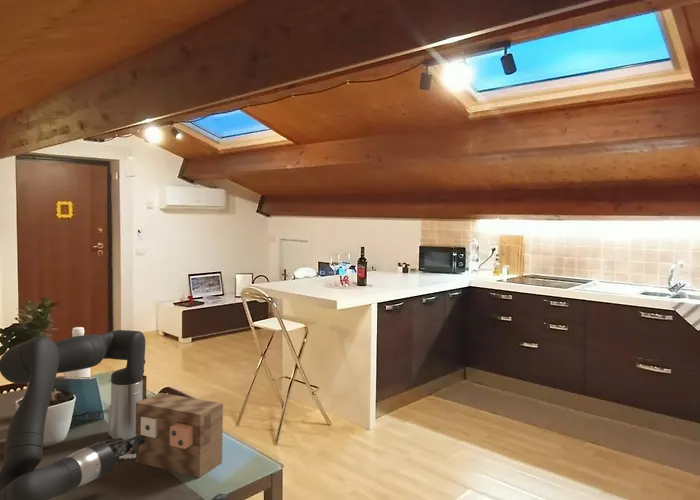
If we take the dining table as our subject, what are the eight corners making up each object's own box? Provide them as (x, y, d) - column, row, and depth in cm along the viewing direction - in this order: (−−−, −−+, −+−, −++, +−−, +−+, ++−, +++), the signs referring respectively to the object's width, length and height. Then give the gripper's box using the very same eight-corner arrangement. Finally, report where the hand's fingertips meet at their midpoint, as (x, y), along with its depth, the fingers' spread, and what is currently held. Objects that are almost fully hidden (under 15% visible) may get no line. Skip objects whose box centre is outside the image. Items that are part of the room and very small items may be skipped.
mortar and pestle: (143, 410, 192) (143, 360, 191) (127, 408, 193) (127, 359, 193) (153, 404, 199) (154, 356, 198) (137, 403, 200) (138, 355, 199)
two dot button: (169, 445, 142) (169, 427, 142) (182, 438, 147) (182, 420, 147) (184, 449, 140) (184, 430, 140) (197, 441, 145) (197, 423, 145)
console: (135, 462, 151) (135, 402, 150) (160, 448, 160) (160, 392, 159) (199, 477, 143) (200, 414, 142) (222, 462, 152) (222, 403, 151)
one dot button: (140, 435, 149) (140, 417, 148) (153, 428, 153) (153, 411, 153) (154, 438, 147) (154, 420, 146) (167, 431, 151) (167, 414, 151)
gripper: (109, 454, 121) (163, 428, 137) (66, 443, 126) (123, 420, 142) (108, 486, 122) (162, 457, 138) (66, 474, 127) (123, 448, 143)
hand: (142, 438), depth 140 cm, fingers closed
